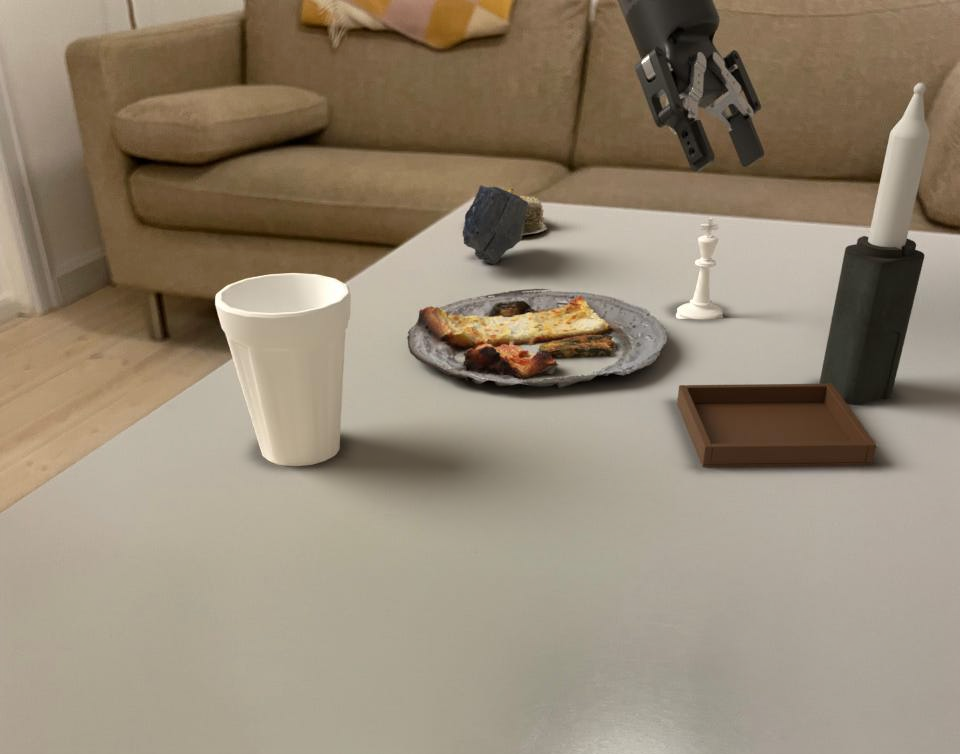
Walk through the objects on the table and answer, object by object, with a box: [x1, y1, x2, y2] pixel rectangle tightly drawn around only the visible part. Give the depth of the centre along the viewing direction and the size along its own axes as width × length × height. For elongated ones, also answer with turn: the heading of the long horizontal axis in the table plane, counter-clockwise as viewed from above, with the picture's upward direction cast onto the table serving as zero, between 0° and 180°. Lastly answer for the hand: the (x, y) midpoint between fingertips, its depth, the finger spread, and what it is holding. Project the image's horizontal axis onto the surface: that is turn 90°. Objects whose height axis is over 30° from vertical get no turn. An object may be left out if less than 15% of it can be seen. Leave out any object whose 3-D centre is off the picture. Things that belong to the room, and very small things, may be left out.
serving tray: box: [676, 383, 877, 468], centre depth 85 cm, size 13×12×2 cm
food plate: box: [406, 288, 668, 388], centre depth 101 cm, size 25×23×4 cm
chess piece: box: [675, 217, 724, 321], centre depth 107 cm, size 5×5×10 cm
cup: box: [214, 272, 352, 467], centre depth 81 cm, size 10×10×13 cm
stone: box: [462, 185, 528, 265], centre depth 124 cm, size 14×6×10 cm, turn 170°
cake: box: [507, 187, 548, 236], centre depth 137 cm, size 10×10×5 cm
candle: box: [818, 82, 931, 406], centre depth 86 cm, size 5×5×25 cm
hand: (730, 164), depth 96 cm, fingers open, 8 cm apart
